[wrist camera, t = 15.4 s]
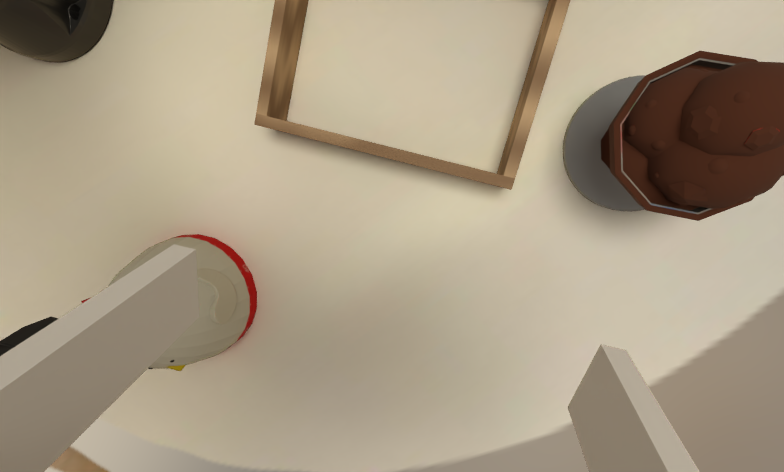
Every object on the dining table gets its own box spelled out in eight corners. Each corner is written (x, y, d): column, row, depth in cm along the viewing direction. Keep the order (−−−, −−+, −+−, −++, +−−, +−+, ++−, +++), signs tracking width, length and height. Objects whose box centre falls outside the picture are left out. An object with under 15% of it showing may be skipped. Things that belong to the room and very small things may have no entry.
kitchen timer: (175, 362, 47) (53, 451, 32) (126, 257, 45) (-27, 301, 30) (275, 329, 44) (192, 411, 29) (227, 217, 42) (113, 244, 28)
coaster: (556, 92, 36) (558, 91, 35) (698, 64, 34) (704, 62, 33) (569, 219, 38) (572, 220, 37) (705, 199, 36) (711, 199, 35)
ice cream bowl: (550, 119, 35) (624, 85, 21) (675, 61, 33) (858, -22, 19) (591, 223, 37) (690, 261, 22) (716, 173, 34) (916, 178, 20)
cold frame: (311, -75, 36) (283, -127, 30) (567, -23, 34) (596, -66, 28) (275, 129, 40) (243, 122, 33) (503, 187, 38) (515, 191, 32)
